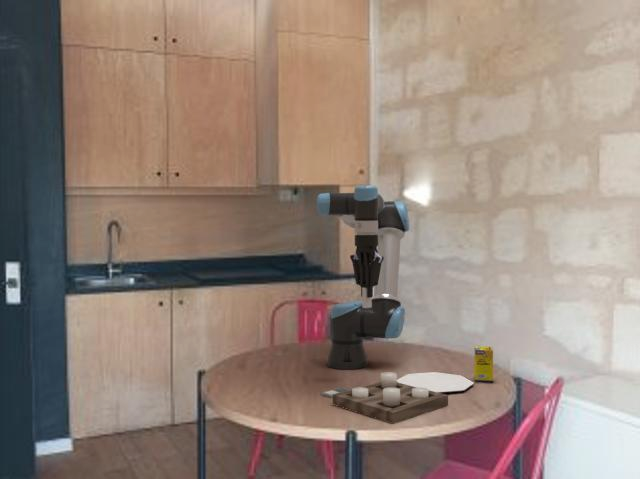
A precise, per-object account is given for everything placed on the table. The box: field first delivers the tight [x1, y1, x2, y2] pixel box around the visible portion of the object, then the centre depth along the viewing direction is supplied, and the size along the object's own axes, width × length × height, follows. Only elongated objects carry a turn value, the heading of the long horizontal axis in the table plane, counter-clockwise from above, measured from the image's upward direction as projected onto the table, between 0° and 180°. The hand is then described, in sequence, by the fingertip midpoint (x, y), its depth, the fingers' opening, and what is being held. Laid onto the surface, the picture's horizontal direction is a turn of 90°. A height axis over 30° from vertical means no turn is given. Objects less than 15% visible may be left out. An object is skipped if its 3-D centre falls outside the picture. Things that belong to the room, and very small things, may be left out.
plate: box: [397, 371, 474, 394], centre depth 220 cm, size 24×24×2 cm
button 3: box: [383, 388, 400, 406], centre depth 189 cm, size 5×5×4 cm
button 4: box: [412, 387, 428, 400], centre depth 198 cm, size 5×5×4 cm
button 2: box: [380, 371, 398, 388], centre depth 207 cm, size 5×5×4 cm
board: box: [332, 381, 449, 424], centre depth 198 cm, size 24×24×3 cm
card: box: [320, 387, 350, 399], centre depth 210 cm, size 9×9×1 cm
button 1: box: [351, 386, 368, 399], centre depth 199 cm, size 5×5×4 cm
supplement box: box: [473, 346, 494, 384], centre depth 224 cm, size 6×6×11 cm
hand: (367, 307), depth 215 cm, fingers closed
